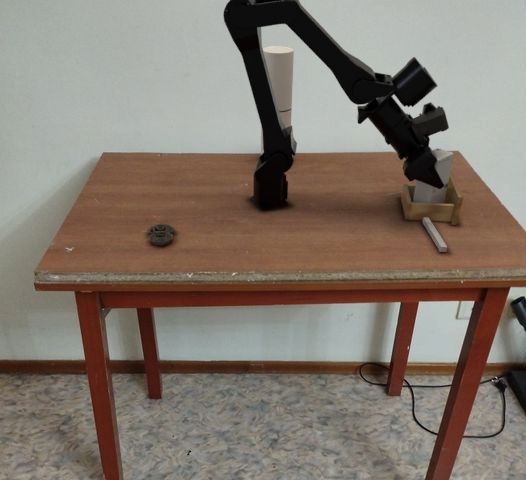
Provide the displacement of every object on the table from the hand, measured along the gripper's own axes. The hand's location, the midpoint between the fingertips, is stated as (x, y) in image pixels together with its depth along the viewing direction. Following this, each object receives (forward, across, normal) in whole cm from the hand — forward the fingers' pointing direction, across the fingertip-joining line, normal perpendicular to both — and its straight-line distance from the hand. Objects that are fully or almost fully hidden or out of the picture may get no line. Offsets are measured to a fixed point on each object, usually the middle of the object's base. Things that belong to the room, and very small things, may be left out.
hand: (439, 180), depth 121 cm
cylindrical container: (-20, +25, +30) cm, 44 cm away
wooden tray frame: (+4, 0, +6) cm, 7 cm away
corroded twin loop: (-34, -18, +43) cm, 58 cm away
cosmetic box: (+4, 0, +6) cm, 7 cm away
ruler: (+4, -12, +6) cm, 14 cm away
